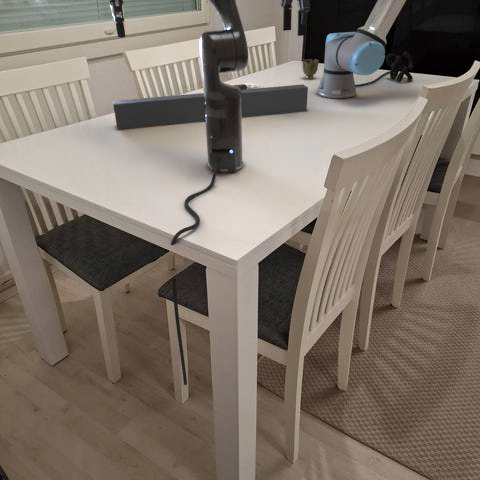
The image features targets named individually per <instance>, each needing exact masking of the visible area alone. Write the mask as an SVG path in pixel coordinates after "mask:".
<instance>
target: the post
mask: <svg viewBox="0 0 480 480" xmlns="http://www.w3.org/2000/svg"><path fill="white" fill-rule="evenodd" d="M241 94H242V118H246V117H258V116H259V117H260V116H267V115H277V114H287V113H298V112H307V111H308V110H307V109H308V95H309V86H307V85H305V84H292V85H281V86H269V87H267V86H266V87H260V88H253V89H252V88H247V89H244V90H241ZM112 104H113V111H114V117H115V123H116V129H117V130H129V129H139V128H149V127H158V126H167V125H177V124H178V125H179V124H190V123H199V122H206V118H205V101H204V92H198V93H188V94H186V93H185V94H177V95H166V96H165V95H163V96H153V97H143V98H131V99H130V98H129V99H117V100H112Z"/></svg>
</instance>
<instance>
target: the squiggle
mask: <svg viewBox="0 0 480 480" xmlns="http://www.w3.org/2000/svg"><path fill="white" fill-rule="evenodd" d="M401 57H402V59H401ZM391 59H392V60H391ZM393 60H394V61H393ZM385 61H386V64H387V67H390V68H391V70H390V71H391V72H390V73H389V78H390V79H391V80H395V79H396V81H397V82H399V83H400V82H402V81H403V79H404V76H406V78H407V80H408V81H412V80H413V79H414V77H413V75H412V74H411V73H410V72H409V71H410V70H412V69H413V68H414V64H413V61H412V57H411V54H410V53H409V52H408V51H403V53H402V54H401V55H396V54H394V53H392V52H390V53H387V55H386V56H385ZM406 62H407V65H408V66H407V68H405V67H406V66H405V64H406ZM404 66H405V67H404ZM399 68H400V69H401V70H399Z"/></svg>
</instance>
